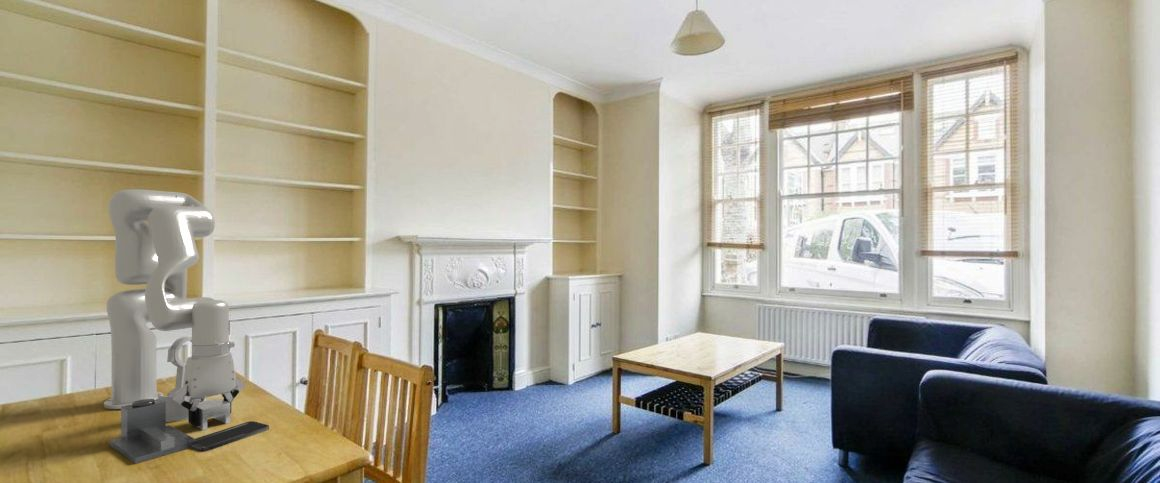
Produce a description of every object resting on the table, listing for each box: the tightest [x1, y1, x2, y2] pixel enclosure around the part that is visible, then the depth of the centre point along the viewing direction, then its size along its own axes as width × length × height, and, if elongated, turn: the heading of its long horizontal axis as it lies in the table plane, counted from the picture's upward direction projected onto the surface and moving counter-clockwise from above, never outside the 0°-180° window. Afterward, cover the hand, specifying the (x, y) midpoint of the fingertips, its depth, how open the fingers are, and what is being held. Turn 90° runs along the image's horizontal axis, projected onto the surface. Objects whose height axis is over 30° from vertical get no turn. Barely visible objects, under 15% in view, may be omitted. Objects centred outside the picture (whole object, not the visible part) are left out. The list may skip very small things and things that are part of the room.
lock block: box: [196, 397, 231, 431], centre depth 128 cm, size 6×7×5 cm
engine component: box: [158, 335, 207, 423], centre depth 134 cm, size 11×20×10 cm
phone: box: [190, 420, 270, 452], centre depth 120 cm, size 8×1×15 cm
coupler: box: [108, 399, 198, 465], centre depth 115 cm, size 16×11×9 cm
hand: (210, 420), depth 128 cm, fingers closed on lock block, 6 cm apart
